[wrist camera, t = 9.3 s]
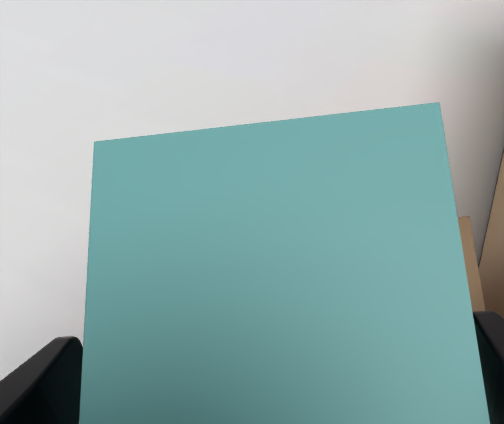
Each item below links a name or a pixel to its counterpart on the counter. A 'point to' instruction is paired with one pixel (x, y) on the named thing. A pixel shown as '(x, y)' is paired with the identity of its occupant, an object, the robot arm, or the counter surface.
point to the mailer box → (494, 253)
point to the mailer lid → (280, 276)
